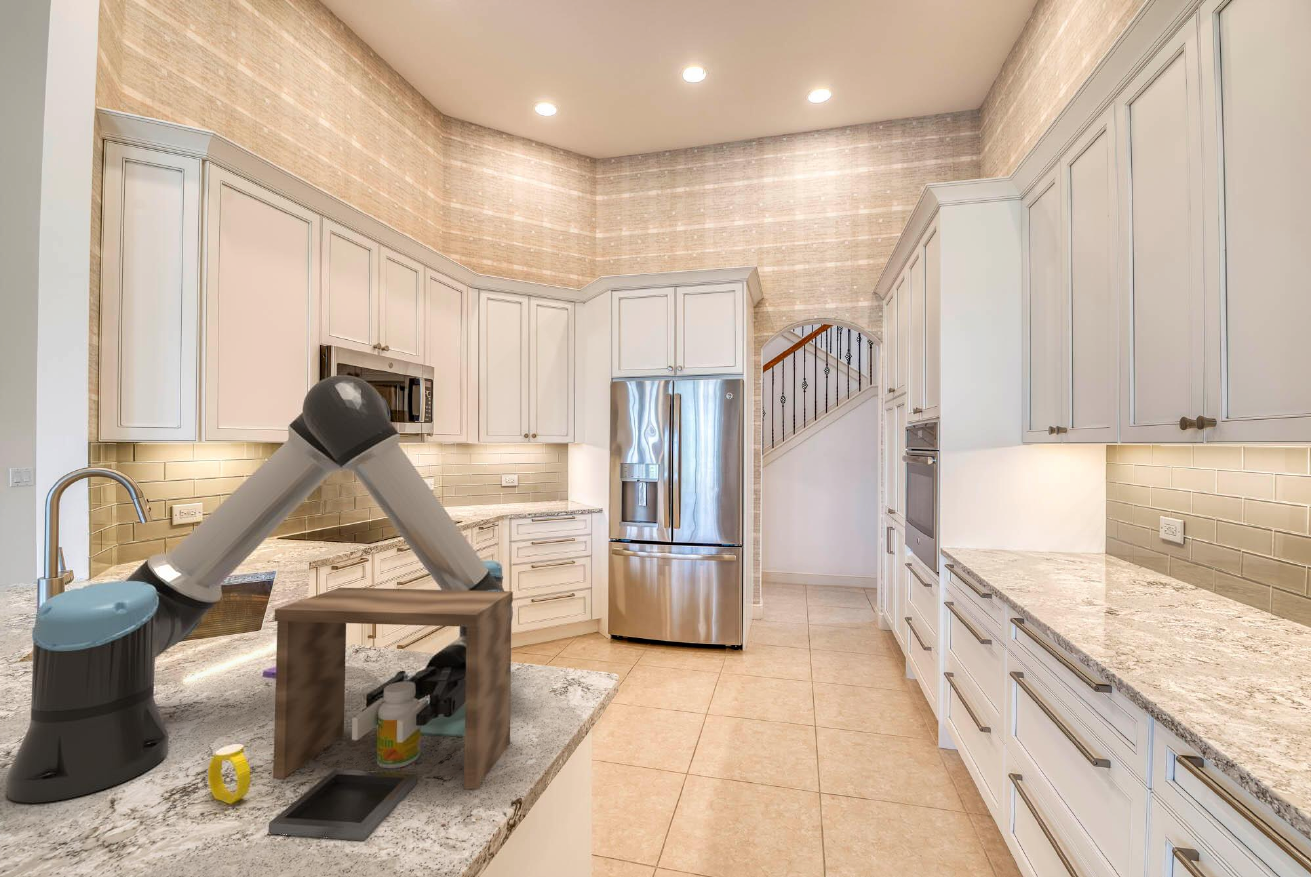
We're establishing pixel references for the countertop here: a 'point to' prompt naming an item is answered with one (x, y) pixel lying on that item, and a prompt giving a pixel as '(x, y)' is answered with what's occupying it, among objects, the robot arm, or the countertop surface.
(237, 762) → the watch
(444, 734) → the pad
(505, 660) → the tunnel
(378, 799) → the tray
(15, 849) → the countertop surface
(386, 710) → the supplement bottle
